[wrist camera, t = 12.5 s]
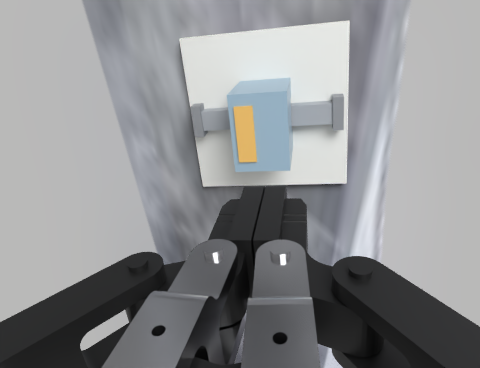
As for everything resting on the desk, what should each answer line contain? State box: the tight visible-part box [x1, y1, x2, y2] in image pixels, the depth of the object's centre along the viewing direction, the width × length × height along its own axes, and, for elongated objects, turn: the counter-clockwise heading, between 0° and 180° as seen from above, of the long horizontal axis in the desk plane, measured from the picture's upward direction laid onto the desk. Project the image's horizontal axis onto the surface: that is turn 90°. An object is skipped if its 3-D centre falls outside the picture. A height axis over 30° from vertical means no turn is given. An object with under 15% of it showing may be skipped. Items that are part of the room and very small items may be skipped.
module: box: [227, 78, 293, 172], centre depth 34 cm, size 7×5×7 cm
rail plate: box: [179, 20, 350, 187], centre depth 37 cm, size 16×16×2 cm
